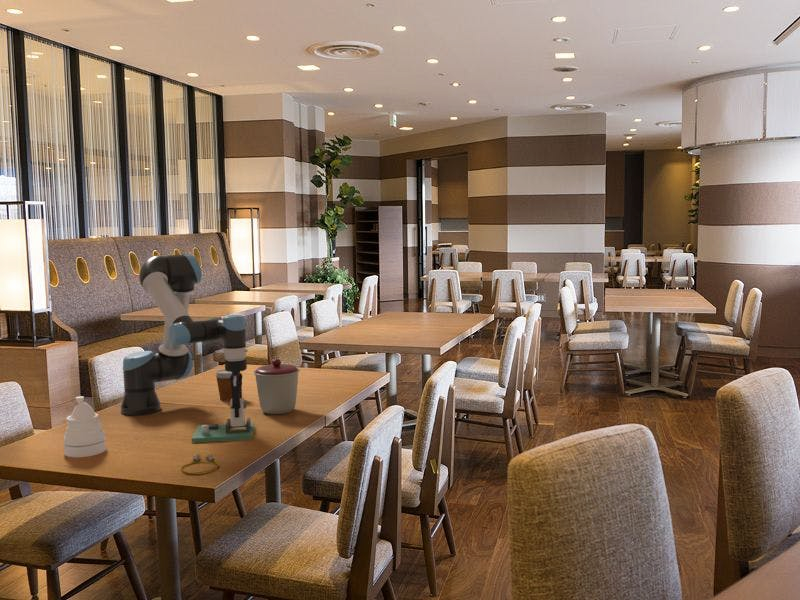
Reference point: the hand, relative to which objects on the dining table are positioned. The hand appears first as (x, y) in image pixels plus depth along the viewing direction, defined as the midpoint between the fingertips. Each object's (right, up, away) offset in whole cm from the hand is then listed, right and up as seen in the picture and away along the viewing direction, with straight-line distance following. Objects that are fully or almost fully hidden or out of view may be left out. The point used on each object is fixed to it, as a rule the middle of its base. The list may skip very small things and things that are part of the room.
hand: (238, 423), depth 262 cm
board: (-5, -4, 0) cm, 6 cm away
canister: (+9, 0, +31) cm, 32 cm away
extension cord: (-4, -8, -34) cm, 35 cm away
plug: (0, 0, 0) cm, 0 cm away
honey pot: (-47, -7, -17) cm, 50 cm away
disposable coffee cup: (-16, +2, +53) cm, 55 cm away
